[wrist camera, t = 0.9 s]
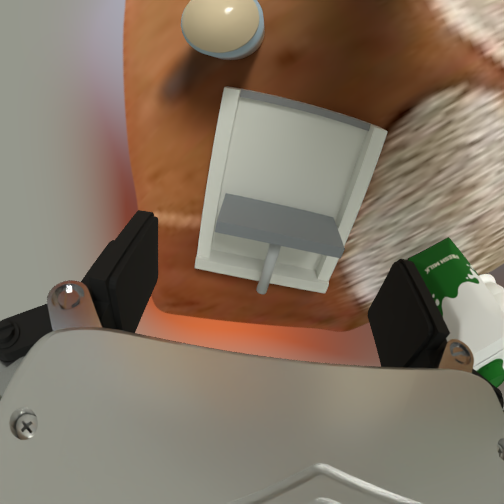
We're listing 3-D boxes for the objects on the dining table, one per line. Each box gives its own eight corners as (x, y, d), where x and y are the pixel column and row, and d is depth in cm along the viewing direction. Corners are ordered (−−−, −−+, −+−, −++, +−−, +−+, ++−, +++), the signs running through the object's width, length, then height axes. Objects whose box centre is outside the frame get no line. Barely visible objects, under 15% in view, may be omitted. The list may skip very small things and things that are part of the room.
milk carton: (414, 297, 41) (458, 409, 25) (400, 256, 37) (458, 380, 21) (460, 272, 38) (519, 375, 22) (452, 228, 34) (531, 336, 18)
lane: (227, 86, 27) (223, 87, 25) (379, 126, 28) (389, 132, 26) (199, 254, 39) (194, 268, 36) (322, 278, 40) (325, 293, 37)
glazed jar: (207, 1, 22) (187, -19, 15) (270, 10, 22) (271, -11, 16) (195, 55, 25) (171, 51, 19) (257, 65, 26) (253, 62, 19)
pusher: (225, 193, 33) (216, 220, 27) (333, 217, 34) (344, 248, 28) (214, 259, 38) (204, 294, 32) (309, 278, 39) (314, 314, 33)
